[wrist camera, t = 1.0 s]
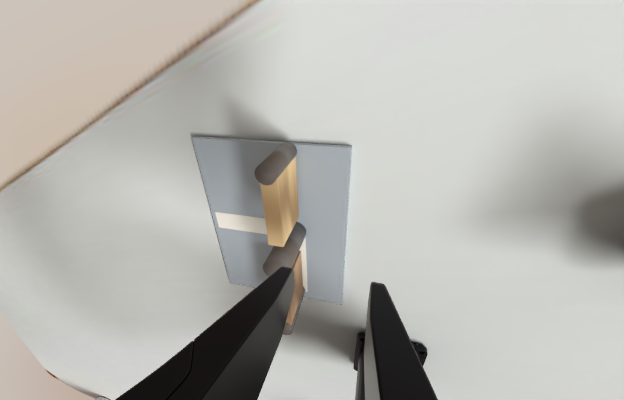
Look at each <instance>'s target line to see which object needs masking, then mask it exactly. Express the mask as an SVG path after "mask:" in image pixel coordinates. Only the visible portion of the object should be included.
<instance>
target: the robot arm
mask: <svg viewBox="0 0 624 400" xmlns="http://www.w3.org/2000/svg"><path fill="white" fill-rule="evenodd" d="M294 289H295V279H294V270H293V268H290V267H284V266H283V267H280V268H279V269H278V270H277V271H275V272H274V273H273V274H272V275H271V276H269V277H268V278H267V279H266V280H265V281H263V282H262V283H261V284H260V285H259V286H257V287H256V288H255V289H254V290H253V291H251V292H250V293H249V294H248V295H247V296H246V297H244V298H243V299H242V300H241V301H240V302H238V303H237V304H236V305H235V306H234V307H232V308H231V309H230V310H229V311H228V312H226V313H225V314H224V315H223V316H222V317H220V318H219V319H218V320H217V321H216V322H214V323H213V324H212V325H211V326H210V327H209V328H207V329H206V330H205V331H204V332H203V333H201V334H200V335H199V336H198V337H197V338H195V340H194V341H192V342H190V343H189V344H188V345H187V346H186V347H184V348H183V349H182V350H181V351H180V352H178V353H177V354H176V355H175V356H173V357H172V358H171V359H170V360H168V361H167V362H166V363H165V364H163V365H162V366H161V367H160V368H158V369H157V370H156V371H154V372H153V373H151V374H150V375H149V376H147V377H146V378H145V379H143V380H142V381H141V382H139V383H138V384H137V385H135V386H134V387H132V388H131V389H130V390H128V391H127V392H125V393H124V394H123V395H121V396H120V397H118V398H117V399H116V400H257V399H258V396H259V394H260V391H261V388H262V386H263V383H264V381H265V378H266V376H267V373H268V371H269V368H270V365H271V363H272V360H273V358H274V355H275V353H276V350H277V348H278V345H279V342H280V340H281V337H282V334H283V330H284V327H285V323H286V320H287V316H288V312H289V309H290V305H291V301H292V297H293V294H294ZM426 357H427V348H426V347H424V346H421V345H417V344H412V343H411V340H410V338H409V336H408V334H407V332H406V330H405V327H404V325H403V323H402V321H401V319H400V317H399V314H398V312H397V310H396V308H395V306H394V303H393V301H392V299H391V297H390V295H389V293H388V290H387V288H386V286H385V285H384V284H382V283H376V282H372V283H371V286H370V293H369V300H368V311H367V322H366V333H358V335H357V343H356V351H355V359H354V369H355V370H356V371H358V373H357V384H356V396H355V400H438V399H437V397H436V395H435V392H434V390H433V388H432V386H431V384H430V382H429V379H428V377H427V375H426V373H425V371H424V369H423V365H424V362H425V359H426Z"/></svg>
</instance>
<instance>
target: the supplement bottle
mask: <svg viewBox="0 0 624 400" xmlns="http://www.w3.org/2000/svg"><path fill="white" fill-rule="evenodd" d="M95 400H109V399H107V398H104V397H98V398H96V399H95Z"/></svg>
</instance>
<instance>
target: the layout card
mask: <svg viewBox="0 0 624 400" xmlns="http://www.w3.org/2000/svg"><path fill="white" fill-rule="evenodd" d="M192 141H193V145H194V148H195V152H196V156H197V160H198V164H199V167H200V171H201V175H202V179H203V182H204V186H205V190H206V194H207V198H208V201H209V205H210V209H211V213H212V216H213V220H214V224H215V228H216V232H217V235H218V239H219V243H220V247H221V250H222V254H223V258H224V262H225V266H226V269H227V273H228V277H229V281H230V283H234V284H239V285H244V286H249V287H254V288H256V287H257V286H259V285H260V284H261V283H262V282H263V281H265V280H266V279H267V278H268V276H267V275H266V274H265V273H264V271H263V264H264V263H265V261H266V259H267V257H268V255H269V254H270V252H271V250H272V248H273V247H274V246H273V245H269V244H268V236H267V229H266V222H265V215H264V207H263V200H262V193H261V186H260V182H258V181H257V179H256V177H255V174H254V172H255V169H256V167H257V166H258V165H259V164H260V163H261V162H263V161H264V160H265V159H266V158H267V157H268V156H269V155H270V154H271V153H272V152H273V151H274V150H275V149H276V148H277V147H279V146H280V145H281V144H282V143H283V142H281V141H265V140H249V139H233V138H217V137H200V136H194V137H192ZM291 143H293V144H294V145H295V146H296V149H297V155H296V169H297V187H298V205H299V218H298V220H297V222H299V223H301V224H302V225H303V226H304V227H305V229H306V236H305V238H304V240H303V243H302V245H301V248H300V250H299V251H301V260H302V278H303V287H304V288H305V293H304V296H303V297H305V298H310V299H315V300H320V301H325V302H330V303H335V304H340V305H342V295H343V279H344V263H345V247H346V231H347V215H348V199H349V183H350V167H351V151H352V146H346V145H330V144H314V143H298V142H291Z"/></svg>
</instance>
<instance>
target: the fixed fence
mask: <svg viewBox="0 0 624 400" xmlns="http://www.w3.org/2000/svg"><path fill="white" fill-rule="evenodd" d="M305 236H306V229H305V227H304V226H303V225H302V224H301V223H299V222H296V224H295V225H294V227H293V229H292V231H291V233H290V235H289V237H288V239H287V241H286V243H285V245H284V247H279V246H274V247H273V248H272V250H271V252H270V254H269V255H268V257H267V259H266V261H265V263H264V264H263V271H264V273H265V274H266V275H267V276H268V277H269V276H271V275H272V274H273V273H274V272H275V271H277V270H278V269H279V268H280V267H283V266H284V267H290V268H293V270H294V279H295V289H294V294H293V297H292V301H291V305H290V309H289V312H288V316H287V320H286V323H285V327H284V330H283V334H284V335H290V334H291V333H292V330H293V327H294V324H295V321H296V318H297V315H298V312H299V309H300V306H301V303H302V300H303V296H304V293H305V288H304V287H303V278H302V260H301V251H299V250H300V248H301V245H302V243H303V240H304V238H305Z"/></svg>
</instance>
